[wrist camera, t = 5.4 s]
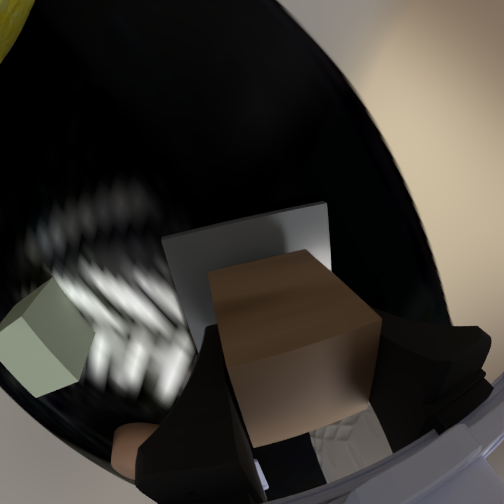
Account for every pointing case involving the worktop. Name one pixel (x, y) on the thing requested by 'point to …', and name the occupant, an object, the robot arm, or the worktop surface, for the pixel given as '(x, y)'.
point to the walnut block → (294, 344)
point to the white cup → (350, 444)
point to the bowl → (12, 22)
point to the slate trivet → (239, 253)
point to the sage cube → (45, 340)
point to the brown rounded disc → (129, 446)
